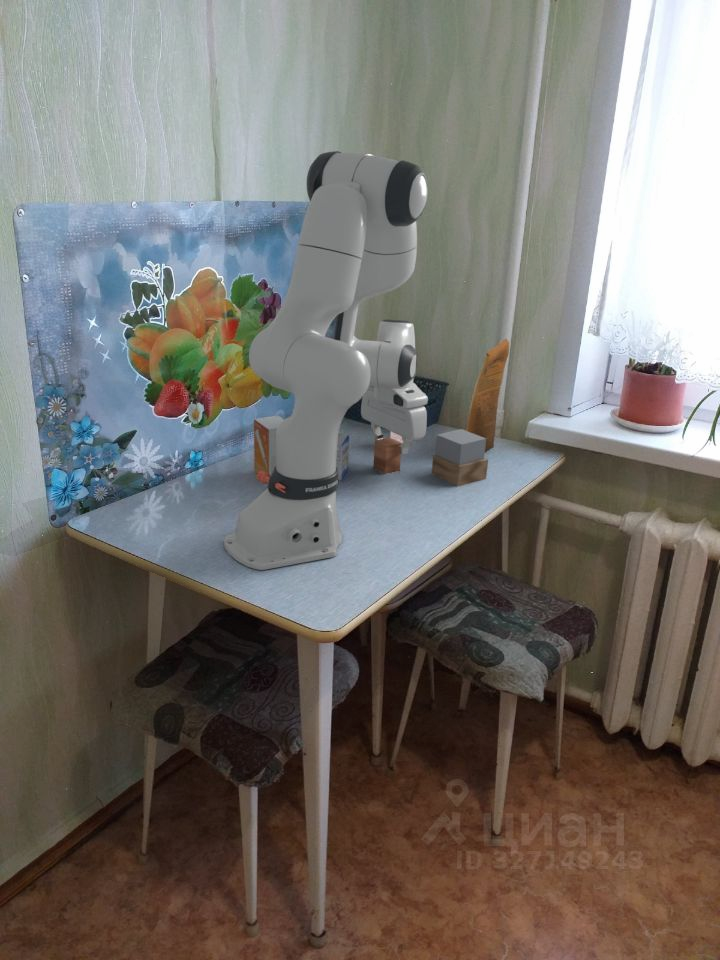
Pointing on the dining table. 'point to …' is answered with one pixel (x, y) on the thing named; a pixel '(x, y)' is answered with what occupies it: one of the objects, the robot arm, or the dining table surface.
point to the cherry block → (387, 455)
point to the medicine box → (342, 455)
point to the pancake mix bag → (488, 394)
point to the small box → (265, 443)
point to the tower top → (460, 447)
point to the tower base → (459, 471)
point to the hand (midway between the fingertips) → (390, 447)
